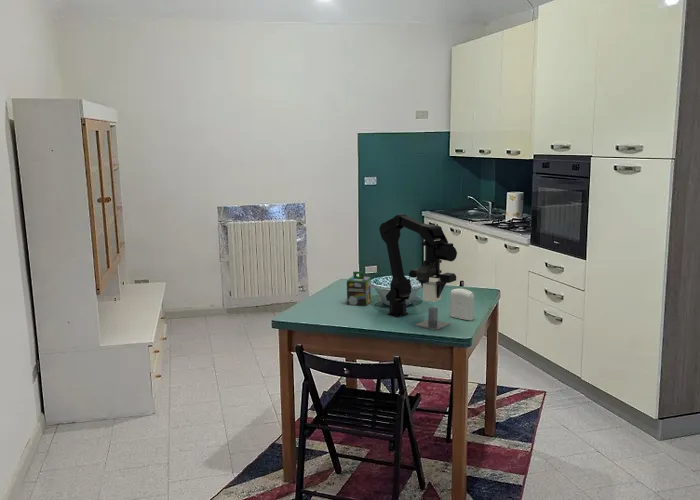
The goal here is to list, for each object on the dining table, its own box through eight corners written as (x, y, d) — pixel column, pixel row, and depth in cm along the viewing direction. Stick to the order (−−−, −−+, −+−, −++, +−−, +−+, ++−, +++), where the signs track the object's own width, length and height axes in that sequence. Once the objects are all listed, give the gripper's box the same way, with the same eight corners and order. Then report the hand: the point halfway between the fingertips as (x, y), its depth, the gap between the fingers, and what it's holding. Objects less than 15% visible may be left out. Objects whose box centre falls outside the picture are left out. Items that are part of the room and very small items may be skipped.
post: (415, 325, 253) (415, 308, 252) (428, 320, 261) (429, 303, 259) (436, 330, 247) (437, 313, 245) (450, 324, 254) (450, 307, 253)
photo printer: (448, 316, 265) (449, 287, 263) (454, 314, 268) (454, 286, 266) (469, 321, 258) (470, 292, 256) (475, 319, 261) (476, 290, 259)
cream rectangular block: (422, 299, 251) (422, 283, 250) (430, 297, 255) (430, 281, 254) (433, 302, 248) (434, 285, 247) (441, 299, 252) (441, 283, 251)
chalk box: (371, 301, 290) (371, 269, 288) (366, 306, 282) (366, 273, 279) (351, 300, 293) (351, 268, 290) (346, 305, 284) (346, 272, 281)
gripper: (401, 258, 249) (400, 297, 251) (441, 263, 237) (441, 304, 239) (417, 254, 257) (416, 291, 260) (457, 259, 245) (456, 298, 248)
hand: (432, 296), depth 251 cm, fingers closed on cream rectangular block, 5 cm apart
